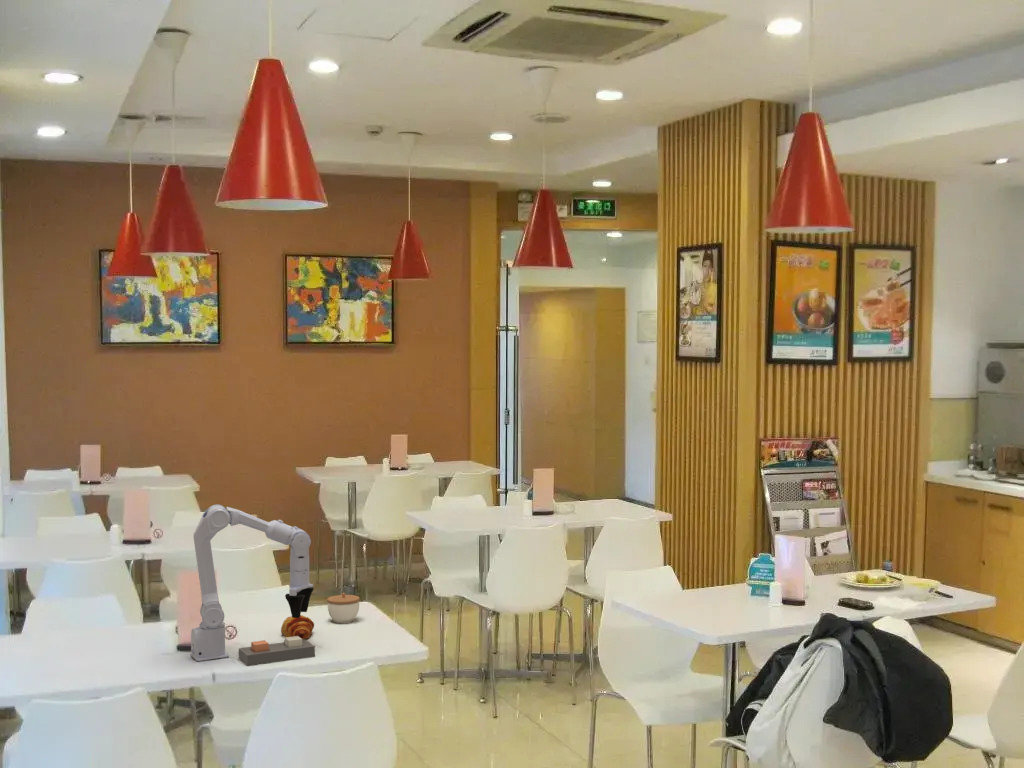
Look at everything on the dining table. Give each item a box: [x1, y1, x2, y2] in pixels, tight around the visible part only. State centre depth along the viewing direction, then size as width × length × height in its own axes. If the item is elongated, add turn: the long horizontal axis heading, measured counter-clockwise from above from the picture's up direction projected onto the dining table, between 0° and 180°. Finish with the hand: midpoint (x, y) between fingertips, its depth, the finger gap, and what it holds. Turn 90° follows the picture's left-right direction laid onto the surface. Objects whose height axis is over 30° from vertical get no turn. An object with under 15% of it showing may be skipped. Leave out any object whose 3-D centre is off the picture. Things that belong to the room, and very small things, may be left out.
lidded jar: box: [326, 592, 360, 624], centre depth 358 cm, size 11×11×9 cm
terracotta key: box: [250, 639, 270, 653], centre depth 310 cm, size 4×4×3 cm
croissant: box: [280, 614, 315, 640], centre depth 340 cm, size 21×10×8 cm, turn 21°
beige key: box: [284, 636, 303, 648], centre depth 315 cm, size 4×4×3 cm
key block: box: [238, 639, 316, 667], centre depth 313 cm, size 20×9×3 cm, turn 120°
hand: (299, 614), depth 323 cm, fingers open, 7 cm apart
